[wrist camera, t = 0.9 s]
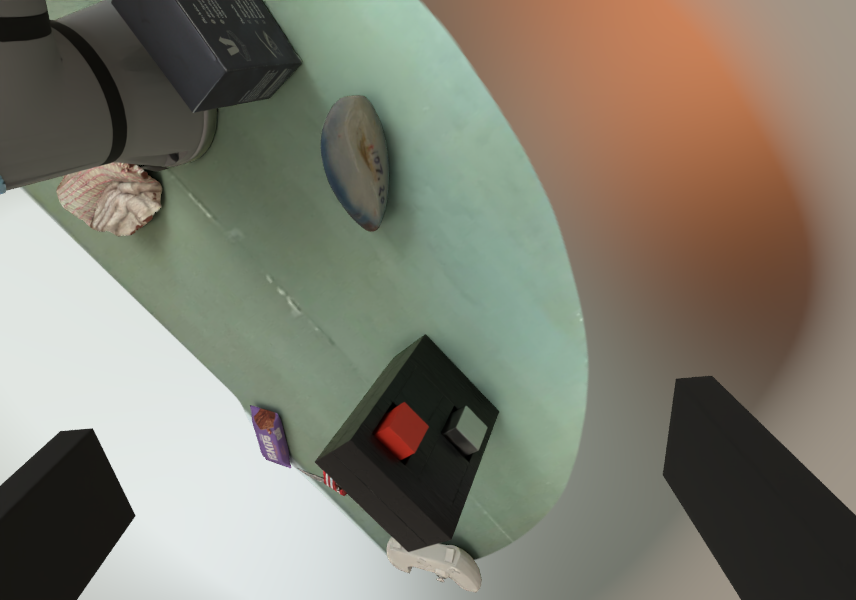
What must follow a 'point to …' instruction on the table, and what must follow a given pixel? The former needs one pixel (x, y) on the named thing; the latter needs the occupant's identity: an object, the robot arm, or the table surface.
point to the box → (213, 48)
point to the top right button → (401, 431)
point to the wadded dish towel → (111, 197)
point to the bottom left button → (464, 431)
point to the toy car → (333, 484)
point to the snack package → (270, 436)
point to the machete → (313, 476)
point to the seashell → (356, 159)
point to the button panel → (420, 472)
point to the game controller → (438, 563)
